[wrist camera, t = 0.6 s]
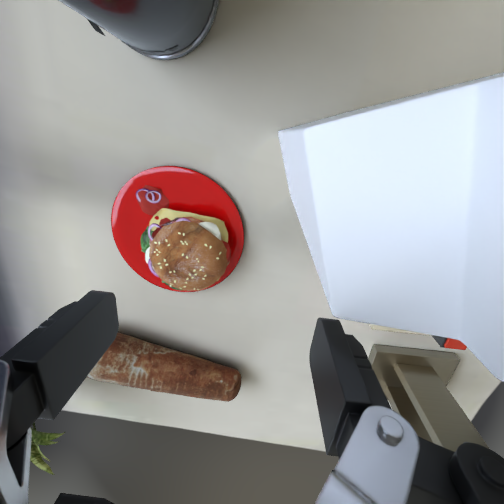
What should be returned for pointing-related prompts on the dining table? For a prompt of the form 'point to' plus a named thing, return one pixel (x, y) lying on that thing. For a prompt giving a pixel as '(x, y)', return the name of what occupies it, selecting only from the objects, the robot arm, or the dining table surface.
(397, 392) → the lever bracket
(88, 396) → the dining table surface
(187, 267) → the hamburger
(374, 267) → the milk
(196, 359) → the bread
